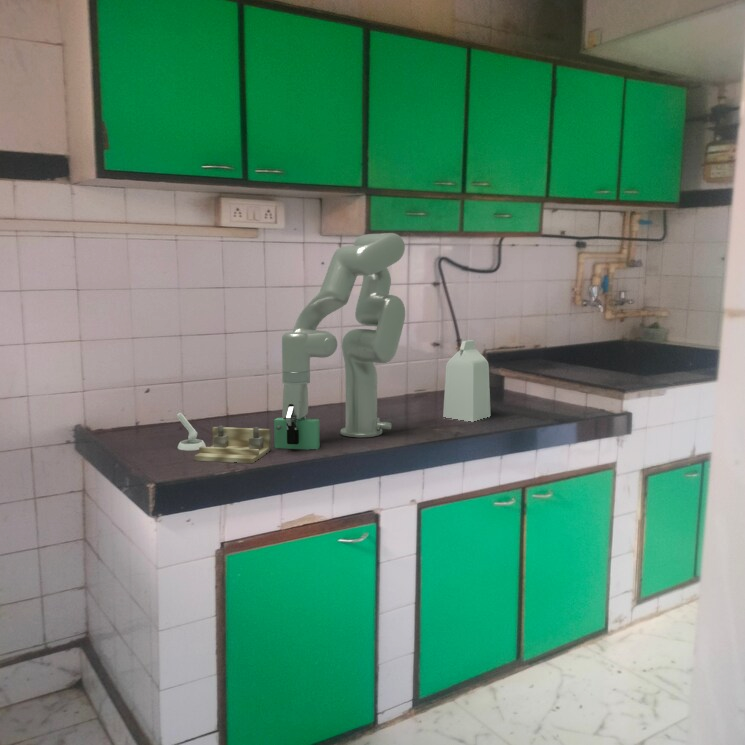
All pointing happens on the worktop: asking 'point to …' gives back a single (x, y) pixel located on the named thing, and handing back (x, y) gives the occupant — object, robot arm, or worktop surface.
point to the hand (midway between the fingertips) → (296, 440)
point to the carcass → (236, 445)
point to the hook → (192, 442)
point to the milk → (467, 385)
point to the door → (306, 434)
